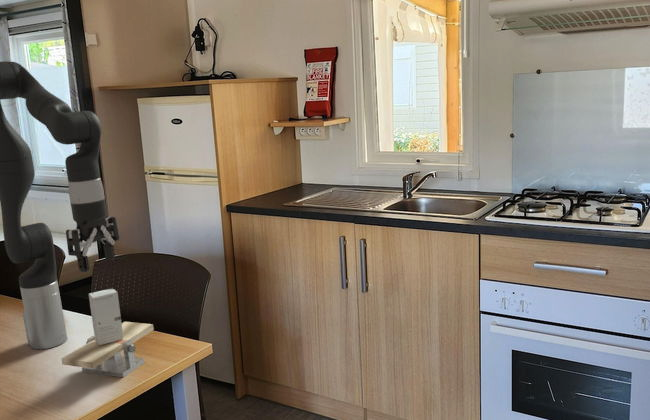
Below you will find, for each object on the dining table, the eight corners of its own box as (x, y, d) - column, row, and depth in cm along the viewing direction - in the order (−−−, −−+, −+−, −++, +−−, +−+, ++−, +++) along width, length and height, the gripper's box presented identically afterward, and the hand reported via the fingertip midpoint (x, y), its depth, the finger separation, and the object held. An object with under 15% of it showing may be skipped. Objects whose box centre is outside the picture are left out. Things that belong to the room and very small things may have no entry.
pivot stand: (80, 371, 150) (75, 344, 149) (103, 357, 158) (99, 330, 156) (125, 377, 145) (121, 349, 144) (146, 362, 153) (142, 335, 151)
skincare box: (99, 346, 147) (91, 298, 144) (94, 340, 150) (86, 293, 148) (125, 338, 150) (118, 291, 147) (120, 333, 154) (113, 287, 151)
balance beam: (62, 364, 142) (61, 358, 142) (125, 326, 162) (124, 321, 162) (93, 368, 139) (92, 362, 138) (153, 329, 159) (152, 324, 158)
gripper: (77, 205, 135) (89, 276, 138) (121, 192, 148) (130, 257, 151) (51, 205, 138) (63, 274, 141) (96, 192, 150) (106, 256, 154)
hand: (98, 265), depth 146 cm, fingers open, 8 cm apart
